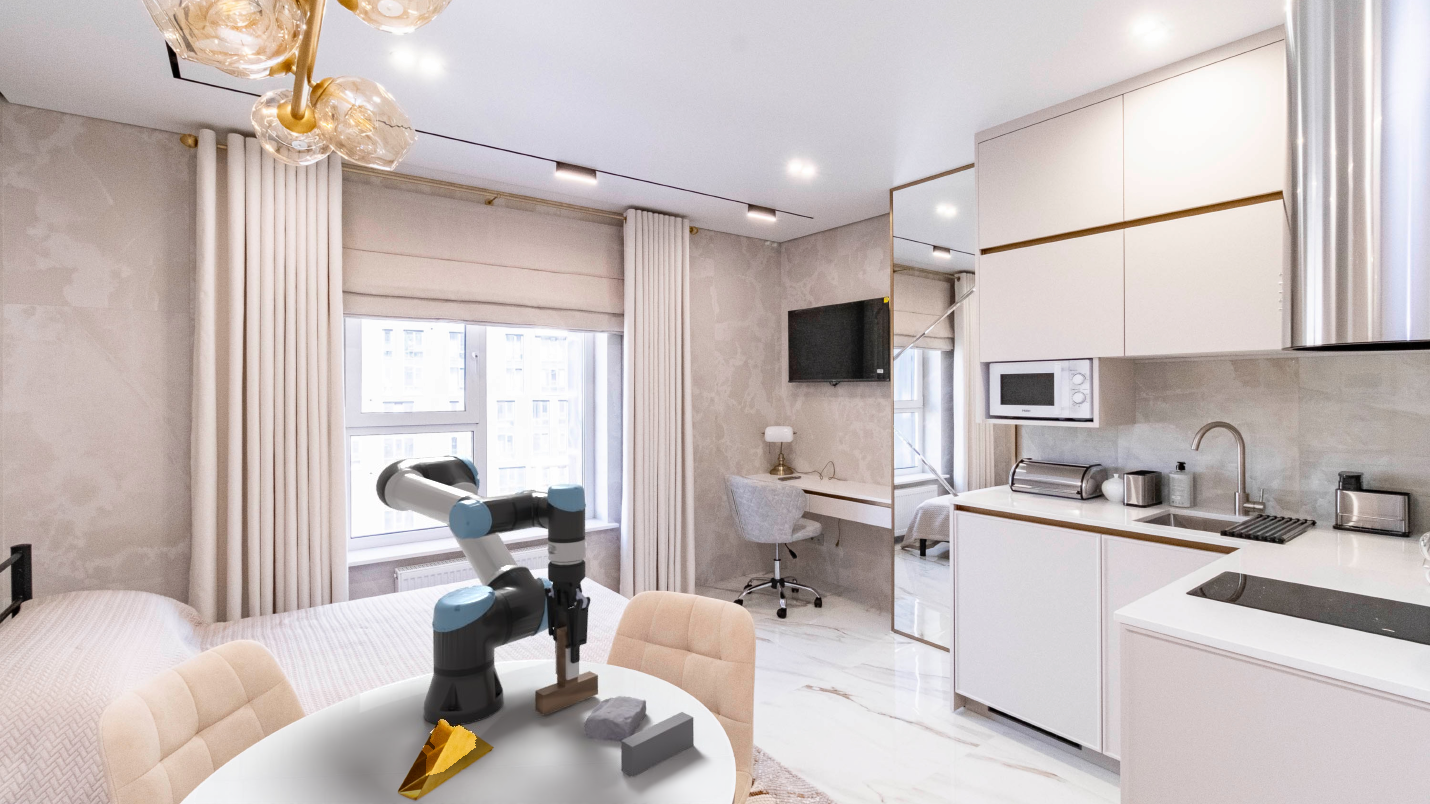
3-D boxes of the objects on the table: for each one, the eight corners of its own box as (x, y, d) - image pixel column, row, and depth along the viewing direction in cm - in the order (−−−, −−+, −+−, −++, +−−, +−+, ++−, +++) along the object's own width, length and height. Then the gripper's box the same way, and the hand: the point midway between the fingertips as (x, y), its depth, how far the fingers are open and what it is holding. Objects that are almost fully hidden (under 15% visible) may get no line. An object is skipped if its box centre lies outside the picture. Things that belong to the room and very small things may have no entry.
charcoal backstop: (621, 770, 108) (621, 740, 108) (682, 739, 118) (682, 711, 118) (632, 777, 106) (632, 746, 106) (693, 744, 116) (693, 717, 116)
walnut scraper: (535, 710, 128) (535, 635, 128) (589, 689, 138) (589, 619, 138) (543, 715, 126) (543, 639, 126) (598, 694, 135) (597, 622, 136)
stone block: (581, 749, 119) (632, 743, 117) (577, 723, 119) (627, 716, 117) (604, 720, 130) (651, 714, 129) (600, 696, 131) (646, 690, 129)
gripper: (530, 557, 135) (530, 669, 135) (573, 570, 124) (574, 692, 124) (561, 551, 140) (561, 659, 140) (605, 563, 129) (605, 680, 129)
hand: (567, 674), depth 132 cm, fingers closed on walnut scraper, 3 cm apart
